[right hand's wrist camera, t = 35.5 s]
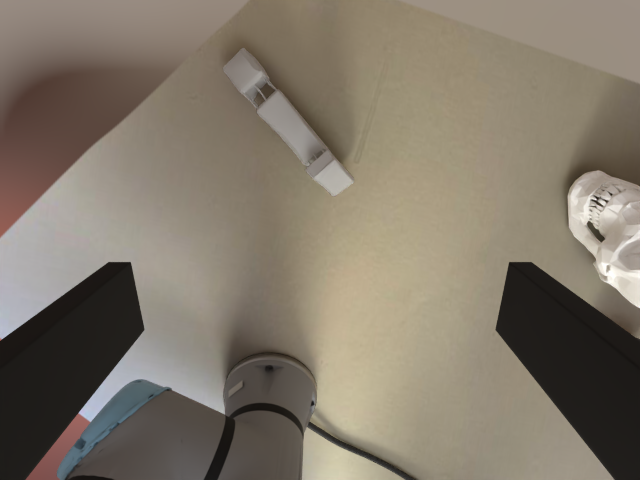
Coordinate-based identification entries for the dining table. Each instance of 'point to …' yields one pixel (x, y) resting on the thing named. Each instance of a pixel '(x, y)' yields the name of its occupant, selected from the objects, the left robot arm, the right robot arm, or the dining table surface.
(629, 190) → the skull
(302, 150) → the grey jointed segment piece
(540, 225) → the dining table surface
